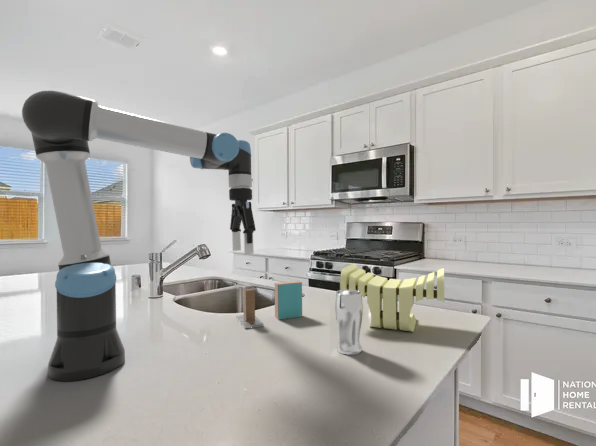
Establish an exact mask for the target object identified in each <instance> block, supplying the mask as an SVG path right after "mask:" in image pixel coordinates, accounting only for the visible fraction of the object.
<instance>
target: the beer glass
mask: <svg viewBox="0 0 596 446" xmlns="http://www.w3.org/2000/svg"><path fill="white" fill-rule="evenodd" d="M334 304H335V305H334V307H335V308H334V309H335V311H334V312H335V318H336V319H335V320H336V324H337V330H338V344H337V351H339V352H338V353H340V354H342V355H345V354H346V356H354V355H359V354H361V352H362V345H361V340H360V339H361V338H360V337H361V336H360V335H361V328H362V322H363V315H364V311H363V310H364V303H363V296H362V292H360V291H357V290H340V289H339V290H337V291H335V303H334Z"/></svg>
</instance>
